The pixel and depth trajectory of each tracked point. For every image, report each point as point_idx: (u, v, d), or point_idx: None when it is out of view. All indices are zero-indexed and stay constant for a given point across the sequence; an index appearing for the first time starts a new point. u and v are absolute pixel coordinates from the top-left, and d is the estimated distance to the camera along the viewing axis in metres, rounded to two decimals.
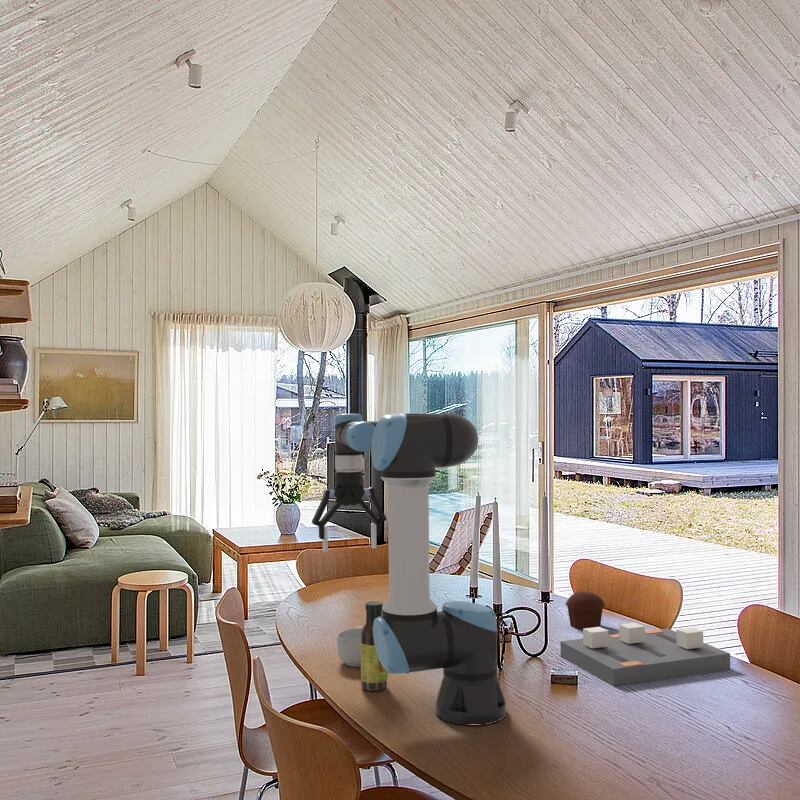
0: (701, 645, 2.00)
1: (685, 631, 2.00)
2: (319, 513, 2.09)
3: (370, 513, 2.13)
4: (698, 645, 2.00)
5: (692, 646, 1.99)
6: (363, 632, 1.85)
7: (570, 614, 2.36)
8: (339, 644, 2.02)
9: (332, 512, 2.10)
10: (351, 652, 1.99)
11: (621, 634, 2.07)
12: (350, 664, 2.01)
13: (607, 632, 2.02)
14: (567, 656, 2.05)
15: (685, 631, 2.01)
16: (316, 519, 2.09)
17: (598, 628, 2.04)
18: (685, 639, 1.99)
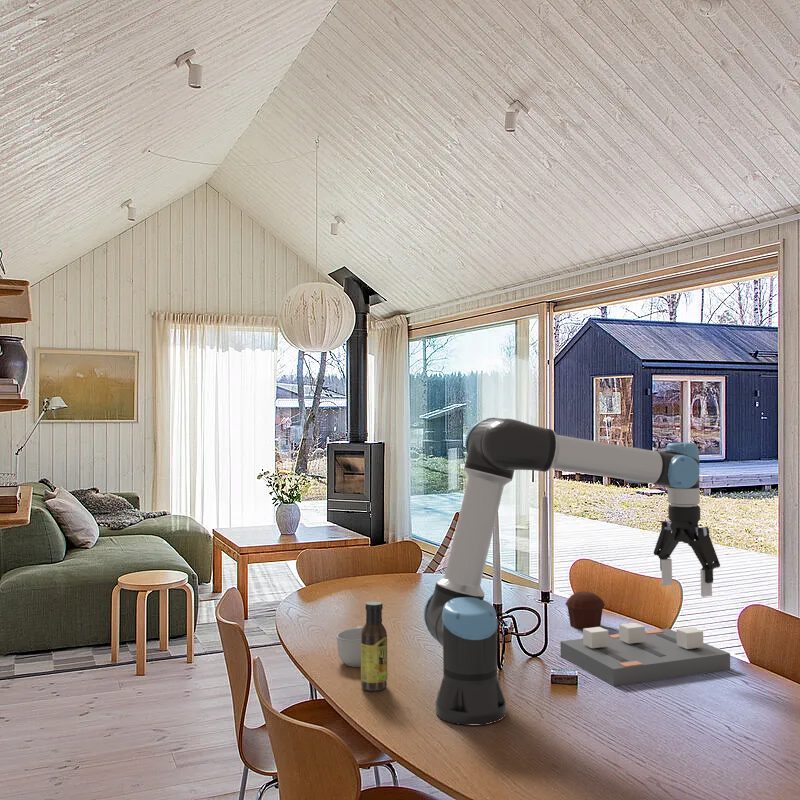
0: (701, 645, 2.00)
1: (685, 631, 2.00)
2: (657, 544, 2.03)
3: (698, 555, 1.90)
4: (698, 645, 2.00)
5: (692, 646, 1.99)
6: (363, 632, 1.85)
7: (570, 614, 2.36)
8: (339, 644, 2.02)
9: (667, 545, 2.00)
10: (351, 652, 1.99)
11: (621, 634, 2.07)
12: (350, 664, 2.01)
13: (607, 632, 2.02)
14: (567, 656, 2.05)
15: (685, 631, 2.01)
16: (655, 549, 2.04)
17: (598, 628, 2.04)
18: (685, 639, 1.99)
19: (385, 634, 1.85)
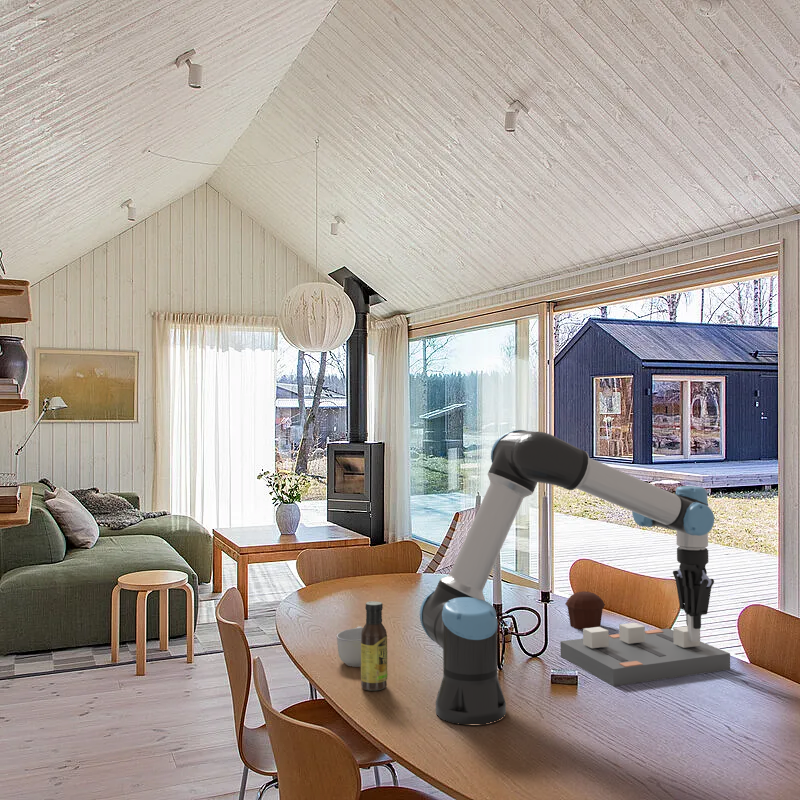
0: (697, 644, 2.01)
1: (682, 630, 2.02)
2: (679, 596, 2.04)
3: (692, 600, 1.99)
4: (695, 644, 2.01)
5: (689, 645, 2.01)
6: (363, 632, 1.85)
7: (570, 614, 2.36)
8: (339, 644, 2.02)
9: (685, 594, 2.01)
10: (351, 652, 1.99)
11: (621, 634, 2.07)
12: (350, 664, 2.01)
13: (607, 632, 2.02)
14: (567, 656, 2.05)
15: (682, 629, 2.02)
16: (680, 603, 2.03)
17: (598, 628, 2.04)
18: (682, 638, 2.01)
19: (385, 634, 1.85)
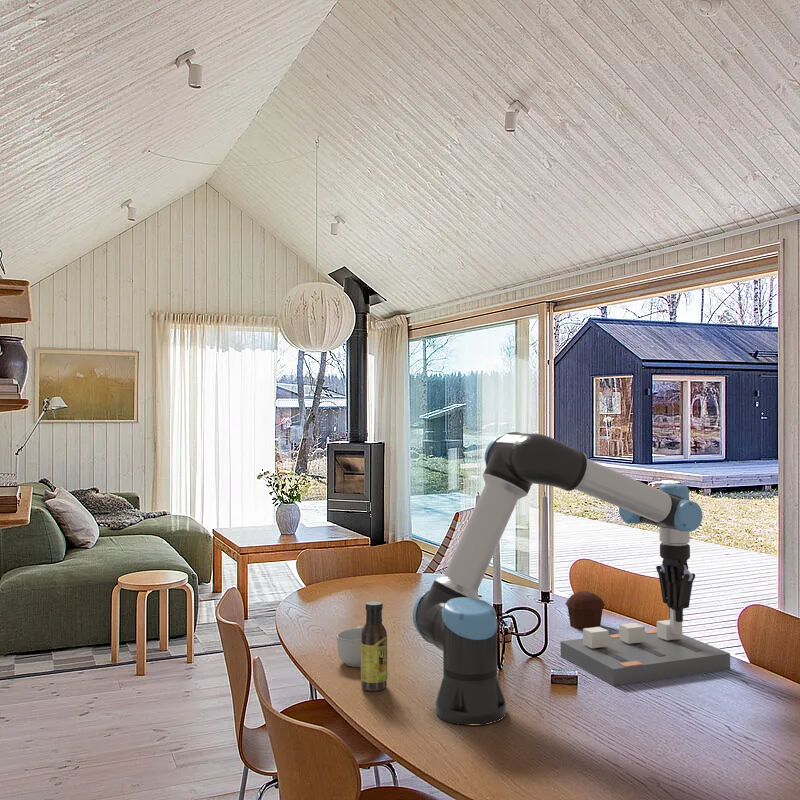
0: (680, 637, 2.08)
1: (665, 623, 2.08)
2: (662, 590, 2.10)
3: (674, 595, 2.05)
4: (677, 636, 2.08)
5: (671, 637, 2.07)
6: (363, 632, 1.85)
7: (570, 614, 2.36)
8: (339, 644, 2.02)
9: (668, 589, 2.08)
10: (351, 652, 1.99)
11: (621, 634, 2.07)
12: (350, 664, 2.01)
13: (607, 632, 2.02)
14: (567, 656, 2.05)
15: (665, 623, 2.09)
16: (663, 597, 2.10)
17: (598, 628, 2.04)
18: (664, 631, 2.07)
19: (385, 634, 1.85)
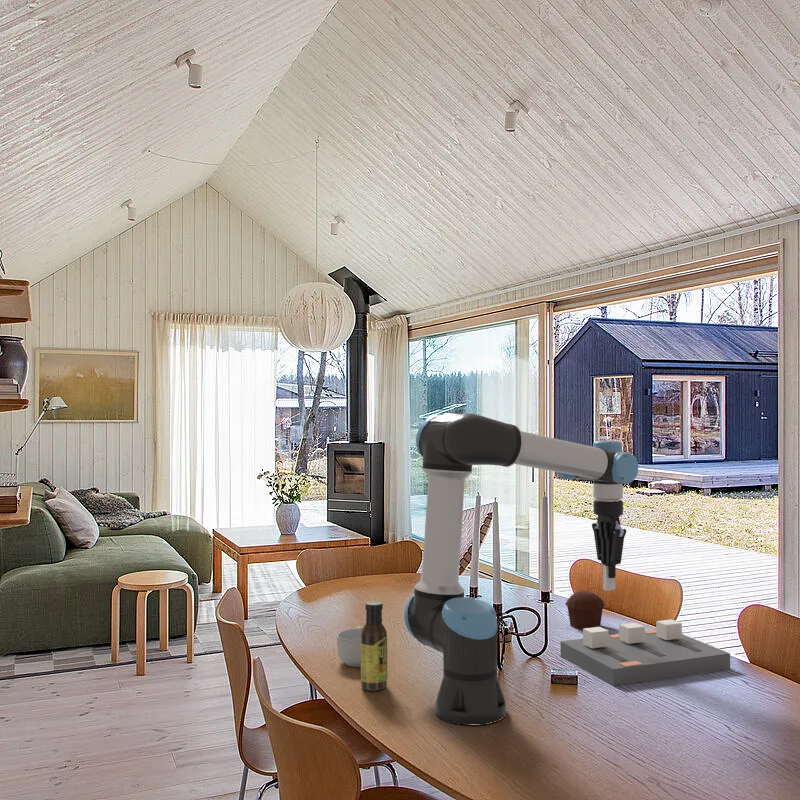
0: (679, 637, 2.08)
1: (664, 623, 2.08)
2: (596, 548, 2.10)
3: (607, 551, 2.05)
4: (677, 636, 2.08)
5: (671, 637, 2.07)
6: (363, 632, 1.85)
7: (570, 614, 2.36)
8: (339, 644, 2.02)
9: (602, 545, 2.07)
10: (351, 652, 1.99)
11: (621, 634, 2.07)
12: (350, 664, 2.01)
13: (607, 632, 2.02)
14: (567, 656, 2.05)
15: (665, 622, 2.09)
16: (597, 554, 2.10)
17: (598, 628, 2.04)
18: (664, 631, 2.07)
19: (385, 634, 1.85)
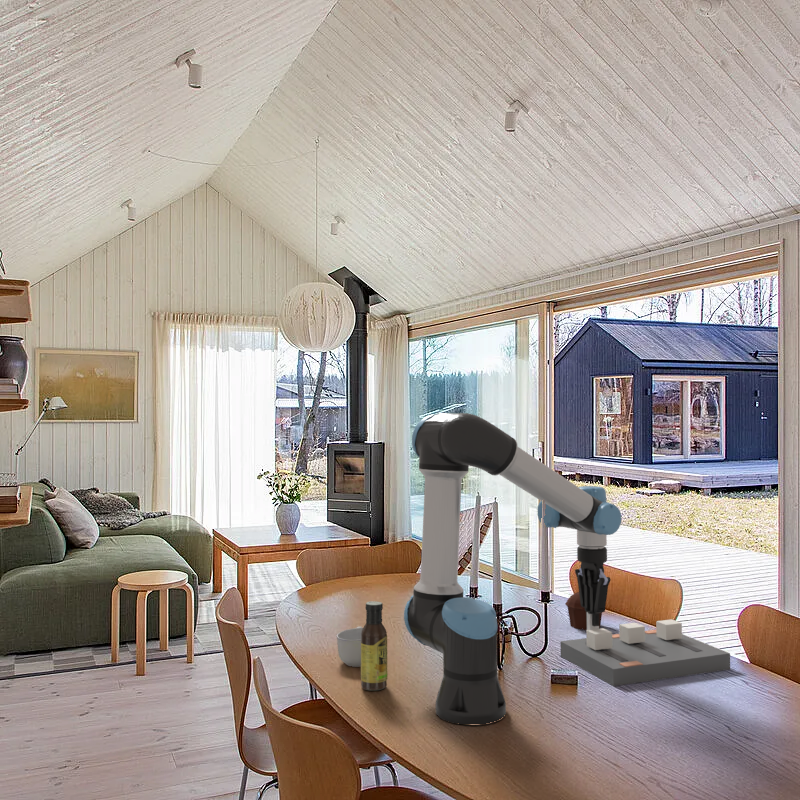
0: (679, 637, 2.08)
1: (664, 623, 2.08)
2: (580, 594, 2.07)
3: (591, 598, 2.03)
4: (677, 636, 2.08)
5: (671, 637, 2.07)
6: (363, 632, 1.85)
7: (570, 614, 2.36)
8: (339, 644, 2.02)
9: (585, 592, 2.05)
10: (351, 652, 1.99)
11: (621, 634, 2.07)
12: (350, 664, 2.01)
13: (611, 634, 2.00)
14: (567, 656, 2.05)
15: (665, 622, 2.09)
16: (581, 601, 2.07)
17: (602, 630, 2.02)
18: (664, 631, 2.07)
19: (385, 634, 1.85)
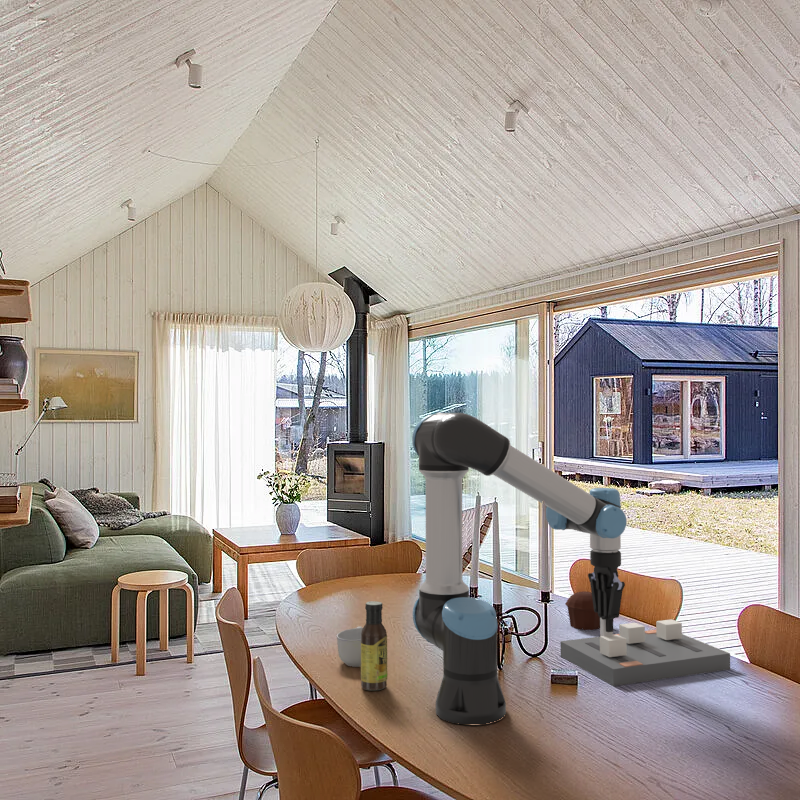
0: (679, 637, 2.08)
1: (664, 623, 2.08)
2: (593, 599, 2.02)
3: (604, 604, 1.97)
4: (677, 636, 2.08)
5: (671, 637, 2.07)
6: (363, 632, 1.85)
7: (570, 614, 2.36)
8: (339, 644, 2.02)
9: (599, 597, 1.99)
10: (351, 652, 1.99)
11: (621, 634, 2.07)
12: (350, 664, 2.01)
13: (625, 640, 1.94)
14: (567, 656, 2.05)
15: (665, 622, 2.09)
16: (594, 606, 2.01)
17: (615, 636, 1.97)
18: (664, 631, 2.07)
19: (385, 634, 1.85)
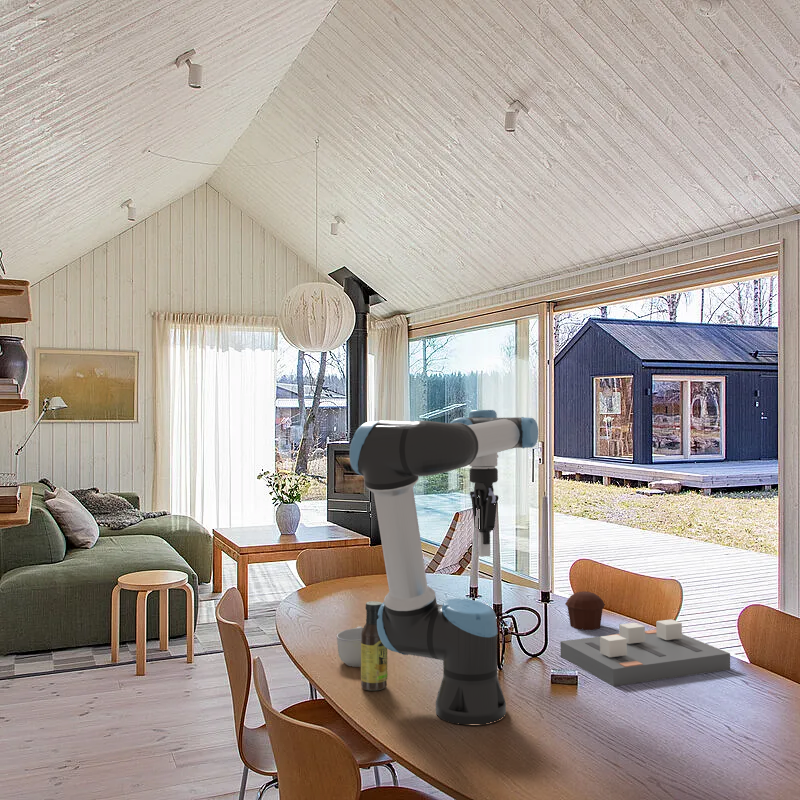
0: (679, 637, 2.08)
1: (664, 623, 2.08)
2: (473, 515, 2.13)
3: (481, 517, 2.09)
4: (677, 636, 2.08)
5: (671, 637, 2.07)
6: (363, 632, 1.85)
7: (570, 614, 2.36)
8: (339, 644, 2.02)
9: None
10: (351, 652, 1.99)
11: (621, 634, 2.07)
12: (350, 664, 2.01)
13: (625, 640, 1.94)
14: (567, 656, 2.05)
15: (665, 622, 2.09)
16: (474, 522, 2.13)
17: (615, 636, 1.97)
18: (664, 631, 2.07)
19: None
